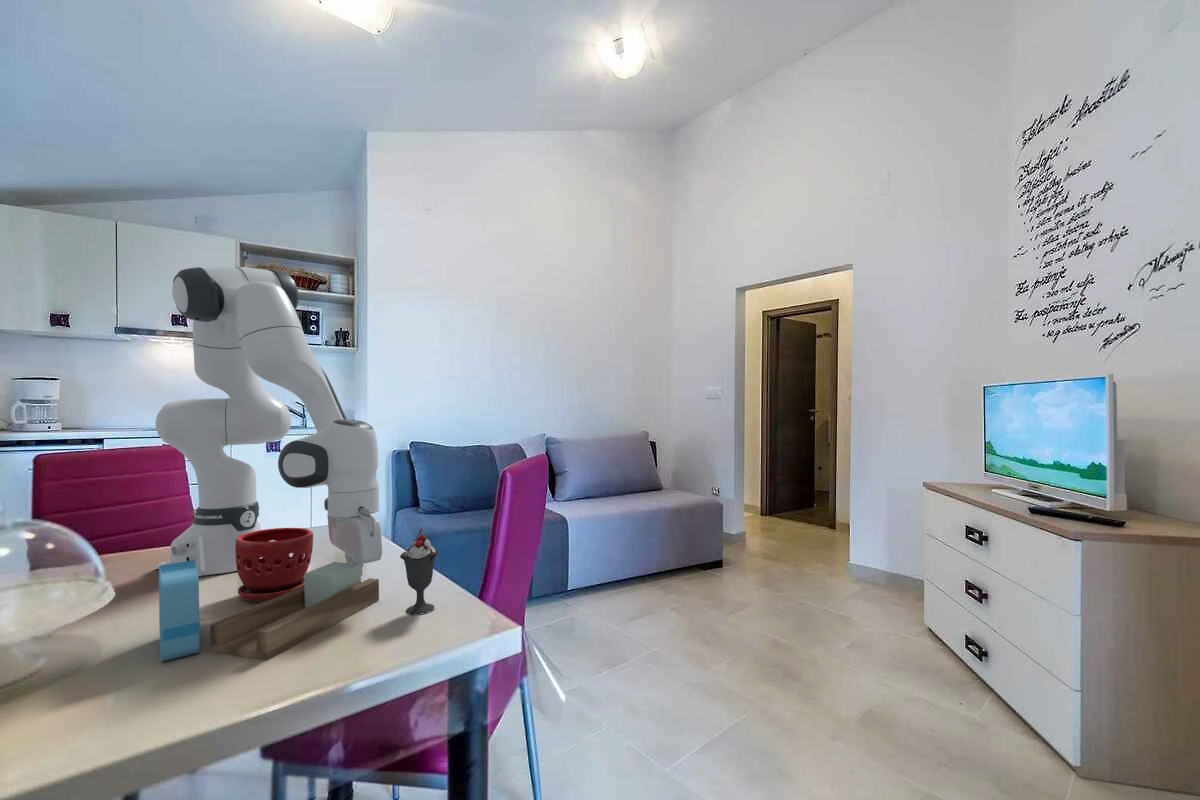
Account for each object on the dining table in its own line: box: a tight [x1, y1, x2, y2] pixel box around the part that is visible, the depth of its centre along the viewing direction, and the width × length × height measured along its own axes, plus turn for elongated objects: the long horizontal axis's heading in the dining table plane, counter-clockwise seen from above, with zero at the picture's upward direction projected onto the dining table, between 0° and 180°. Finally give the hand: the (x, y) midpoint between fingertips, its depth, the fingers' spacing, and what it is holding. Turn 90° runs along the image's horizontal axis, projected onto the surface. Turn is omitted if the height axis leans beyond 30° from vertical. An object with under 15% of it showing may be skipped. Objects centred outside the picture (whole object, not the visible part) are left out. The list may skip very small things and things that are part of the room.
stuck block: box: [304, 561, 362, 608], centre depth 97 cm, size 6×7×6 cm
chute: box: [209, 577, 380, 661], centre depth 91 cm, size 11×24×4 cm, turn 164°
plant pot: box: [235, 527, 314, 603], centre depth 105 cm, size 13×13×12 cm
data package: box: [158, 560, 201, 663], centre depth 83 cm, size 12×4×12 cm, turn 40°
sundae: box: [399, 528, 440, 615], centre depth 96 cm, size 7×7×15 cm
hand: (355, 576), depth 102 cm, fingers closed
